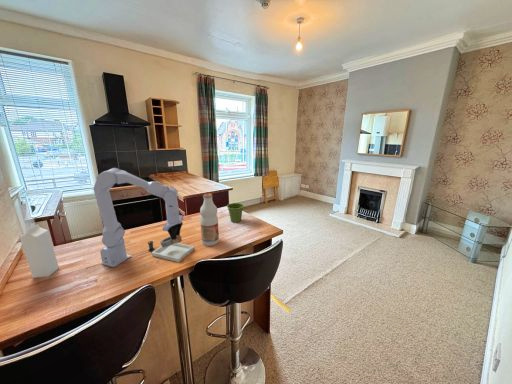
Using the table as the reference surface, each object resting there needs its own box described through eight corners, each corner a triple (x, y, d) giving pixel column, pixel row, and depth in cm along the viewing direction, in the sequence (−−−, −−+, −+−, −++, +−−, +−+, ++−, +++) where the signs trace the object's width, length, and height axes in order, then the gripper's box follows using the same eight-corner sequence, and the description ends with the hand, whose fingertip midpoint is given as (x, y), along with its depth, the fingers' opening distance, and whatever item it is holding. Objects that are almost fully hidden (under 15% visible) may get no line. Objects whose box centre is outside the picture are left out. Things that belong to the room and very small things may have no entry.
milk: (59, 268, 94) (47, 223, 88) (48, 276, 89) (34, 229, 83) (43, 269, 93) (30, 224, 88) (32, 278, 88) (16, 230, 82)
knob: (151, 252, 108) (150, 244, 106) (147, 250, 108) (145, 243, 107) (156, 249, 110) (155, 241, 109) (151, 248, 111) (150, 240, 110)
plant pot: (237, 216, 155) (237, 201, 152) (247, 221, 146) (247, 206, 143) (224, 220, 148) (223, 205, 144) (233, 225, 139) (233, 209, 136)
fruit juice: (199, 240, 119) (196, 193, 112) (215, 236, 124) (212, 191, 117) (205, 248, 112) (202, 198, 104) (221, 243, 117) (219, 195, 109)
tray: (178, 262, 99) (178, 258, 99) (152, 255, 104) (151, 252, 104) (194, 249, 110) (193, 246, 110) (169, 244, 115) (168, 241, 115)
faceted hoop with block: (159, 248, 104) (156, 242, 104) (167, 241, 111) (165, 235, 110) (177, 244, 102) (174, 238, 101) (184, 238, 108) (182, 232, 107)
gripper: (171, 219, 93) (174, 246, 97) (187, 208, 107) (190, 232, 111) (157, 217, 95) (161, 244, 99) (175, 207, 108) (177, 230, 112)
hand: (175, 237), depth 105 cm, fingers closed on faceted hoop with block, 2 cm apart
